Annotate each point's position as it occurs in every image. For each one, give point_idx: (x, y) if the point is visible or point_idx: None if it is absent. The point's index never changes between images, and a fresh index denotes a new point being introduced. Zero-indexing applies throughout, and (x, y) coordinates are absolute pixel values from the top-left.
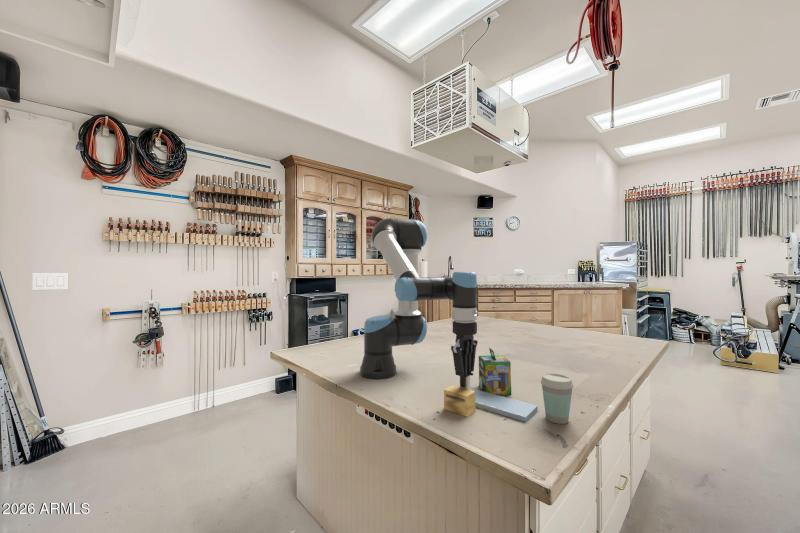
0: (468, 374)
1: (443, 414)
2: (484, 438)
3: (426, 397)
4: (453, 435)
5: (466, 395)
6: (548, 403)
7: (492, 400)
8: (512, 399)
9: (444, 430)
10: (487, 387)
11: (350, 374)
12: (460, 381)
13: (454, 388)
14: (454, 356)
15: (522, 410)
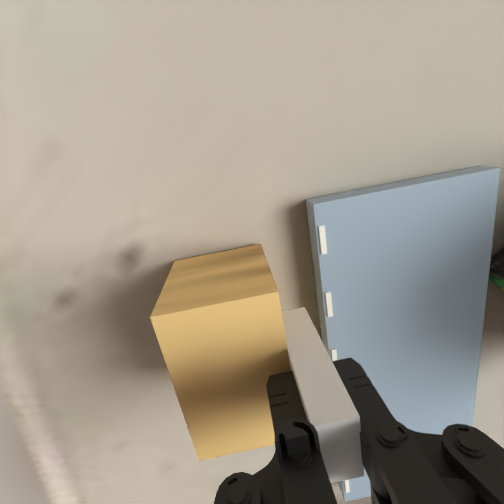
0: (369, 475)
1: (137, 291)
2: (139, 479)
3: (211, 51)
4: (53, 425)
5: (205, 451)
6: None
7: (404, 368)
8: (471, 403)
9: (44, 388)
10: None
11: None
12: (271, 415)
13: (234, 344)
14: None
15: None
